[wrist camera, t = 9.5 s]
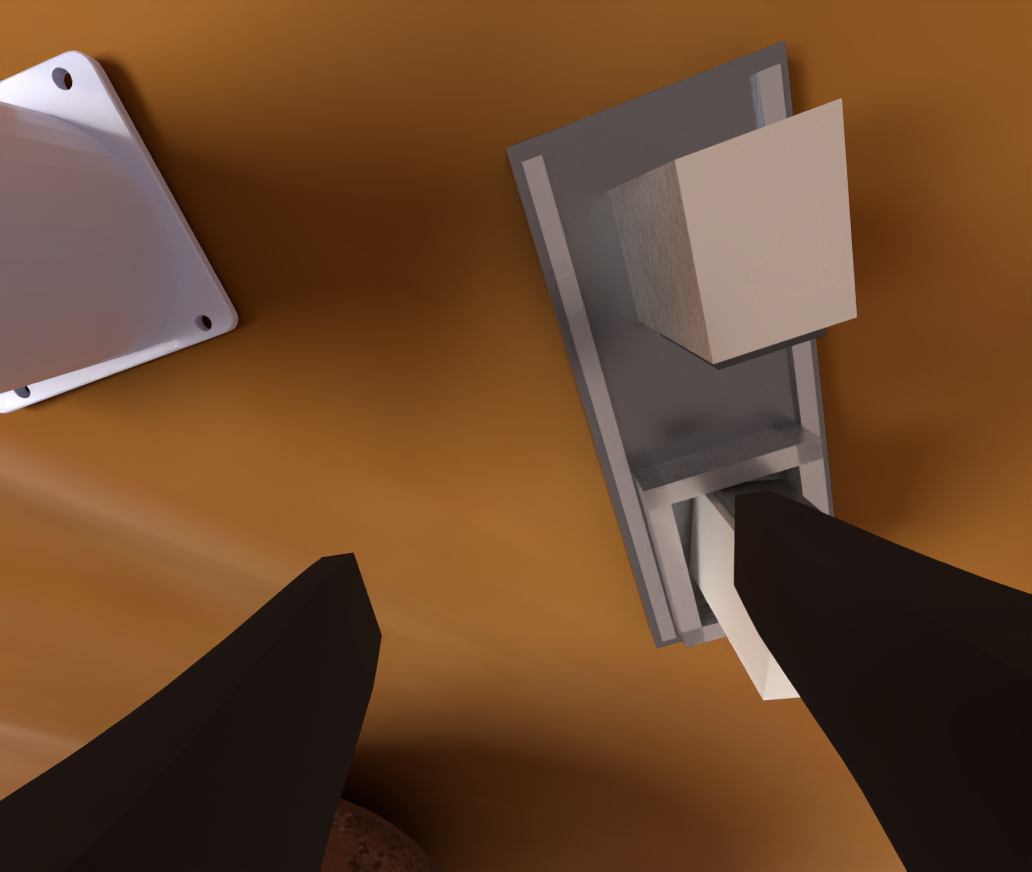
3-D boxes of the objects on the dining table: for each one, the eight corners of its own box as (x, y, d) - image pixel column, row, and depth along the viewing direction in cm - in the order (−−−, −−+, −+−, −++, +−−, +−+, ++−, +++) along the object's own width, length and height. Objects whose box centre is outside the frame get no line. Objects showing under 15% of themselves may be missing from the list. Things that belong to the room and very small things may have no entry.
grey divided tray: (650, 631, 22) (712, 793, 16) (505, 153, 15) (509, 86, 8) (827, 582, 21) (970, 731, 15) (766, 53, 14) (993, -107, 8)
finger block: (689, 569, 20) (763, 700, 14) (695, 472, 18) (782, 576, 12) (763, 563, 20) (866, 691, 14) (775, 465, 18) (899, 566, 12)
